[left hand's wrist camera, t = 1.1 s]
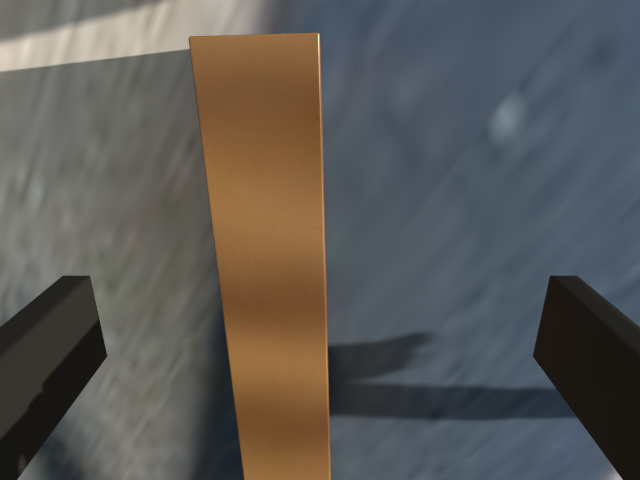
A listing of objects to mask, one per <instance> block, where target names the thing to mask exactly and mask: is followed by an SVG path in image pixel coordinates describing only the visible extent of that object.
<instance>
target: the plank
mask: <svg viewBox="0 0 640 480" xmlns="http://www.w3.org/2000/svg"><path fill="white" fill-rule="evenodd" d="M189 45H190V53H191V61H192V69H193V77H194V85H195V93H196V101H197V109H198V117H199V125H200V133H201V141H202V149H203V157H204V165H205V173H206V180H207V188H208V196H209V204H210V212H211V220H212V228H213V236H214V244H215V252H216V260H217V268H218V276H219V284H220V292H221V300H222V308H223V316H224V324H225V332H226V339H227V347H228V355H229V363H230V371H231V379H232V387H233V395H234V403H235V411H236V419H237V427H238V435H239V443H240V451H241V459H242V467H243V475H244V480H331V457H330V415H329V373H328V331H327V289H326V247H325V205H324V163H323V121H322V79H321V42H320V36H319V33H291V34H257V35H224V36H190V37H189Z"/></svg>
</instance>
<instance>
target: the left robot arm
mask: <svg viewBox="0 0 640 480" xmlns="http://www.w3.org/2000/svg"><path fill="white" fill-rule="evenodd" d="M106 357H107V353H106V349H105V344H104V339H103V335H102V330H101V325H100V321H99V316H98V311H97V307H96V302H95V298H94V293H93V288H92V284H91V279H90V276H62V277H61V278H60V279H58V280H57V281H56V282H55V283H54V284H52V285H51V286H50V287H49V288H48V289H46V290H45V291H44V292H43V293H41V294H40V295H39V296H38V297H37V298H35V299H34V300H33V301H32V302H31V303H29V304H28V305H27V306H26V307H24V308H23V309H22V310H21V311H20V312H18V313H17V314H16V315H15V316H13V317H12V318H11V319H10V320H9V321H7V322H6V323H5V324H4V325H3V326H1V327H0V480H17V479H18V478H19V476H20V475H21V474H22V472H23V471H24V469H25V468H26V467H27V465H28V464H29V463H30V461H31V460H32V458H33V457H34V456H35V454H36V453H37V452H38V450H39V449H40V448H41V446H42V445H43V443H44V442H45V441H46V439H47V438H48V437H49V435H50V434H51V432H52V431H53V430H54V428H55V427H56V426H57V424H58V423H59V421H60V420H61V419H62V417H63V416H64V415H65V413H66V412H67V411H68V409H69V408H70V406H71V405H72V404H73V402H74V401H75V400H76V398H77V397H78V395H79V394H80V393H81V391H82V390H83V389H84V387H85V386H86V384H87V383H88V382H89V380H90V379H91V378H92V376H93V375H94V374H95V372H96V371H97V369H98V368H99V367H100V365H101V364H102V363H103V361H104V360H105V358H106ZM533 357H534V358H535V360H536V361H537V363H538V364H539V365H540V367H541V368H542V369H543V371H544V372H545V374H546V375H547V376H548V378H549V379H550V380H551V382H552V383H553V384H554V386H555V387H556V389H557V390H558V391H559V393H560V394H561V395H562V397H563V398H564V400H565V401H566V402H567V404H568V405H569V406H570V408H571V409H572V411H573V412H574V413H575V415H576V416H577V417H578V419H579V420H580V421H581V423H582V424H583V426H584V427H585V428H586V430H587V431H588V432H589V434H590V435H591V437H592V438H593V439H594V441H595V442H596V443H597V445H598V446H599V448H600V449H601V450H602V452H603V453H604V454H605V456H606V457H607V458H608V460H609V461H610V463H611V464H612V465H613V467H614V468H615V469H616V471H617V472H618V474H619V475H620V476H621V478H622V479H623V480H640V327H639V326H637V325H636V324H635V323H634V322H633V321H631V320H630V319H629V318H628V317H627V316H625V315H624V314H623V313H622V312H620V311H619V310H618V309H617V308H616V307H614V306H613V305H612V304H611V303H609V302H608V301H607V300H606V299H605V298H603V297H602V296H601V295H600V294H599V293H597V292H596V291H595V290H594V289H592V288H591V287H590V286H589V285H588V284H586V283H585V282H584V281H583V280H581V279H580V278H579V277H578V276H550V279H549V284H548V288H547V293H546V298H545V302H544V307H543V311H542V316H541V321H540V325H539V330H538V335H537V339H536V344H535V349H534V353H533Z"/></svg>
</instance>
